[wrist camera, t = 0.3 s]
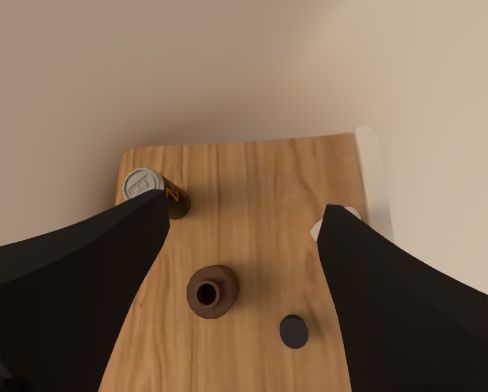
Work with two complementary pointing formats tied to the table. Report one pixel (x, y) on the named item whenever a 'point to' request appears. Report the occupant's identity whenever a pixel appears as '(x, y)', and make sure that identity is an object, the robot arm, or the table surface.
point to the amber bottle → (212, 291)
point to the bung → (293, 332)
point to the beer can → (151, 179)
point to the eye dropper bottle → (316, 227)
